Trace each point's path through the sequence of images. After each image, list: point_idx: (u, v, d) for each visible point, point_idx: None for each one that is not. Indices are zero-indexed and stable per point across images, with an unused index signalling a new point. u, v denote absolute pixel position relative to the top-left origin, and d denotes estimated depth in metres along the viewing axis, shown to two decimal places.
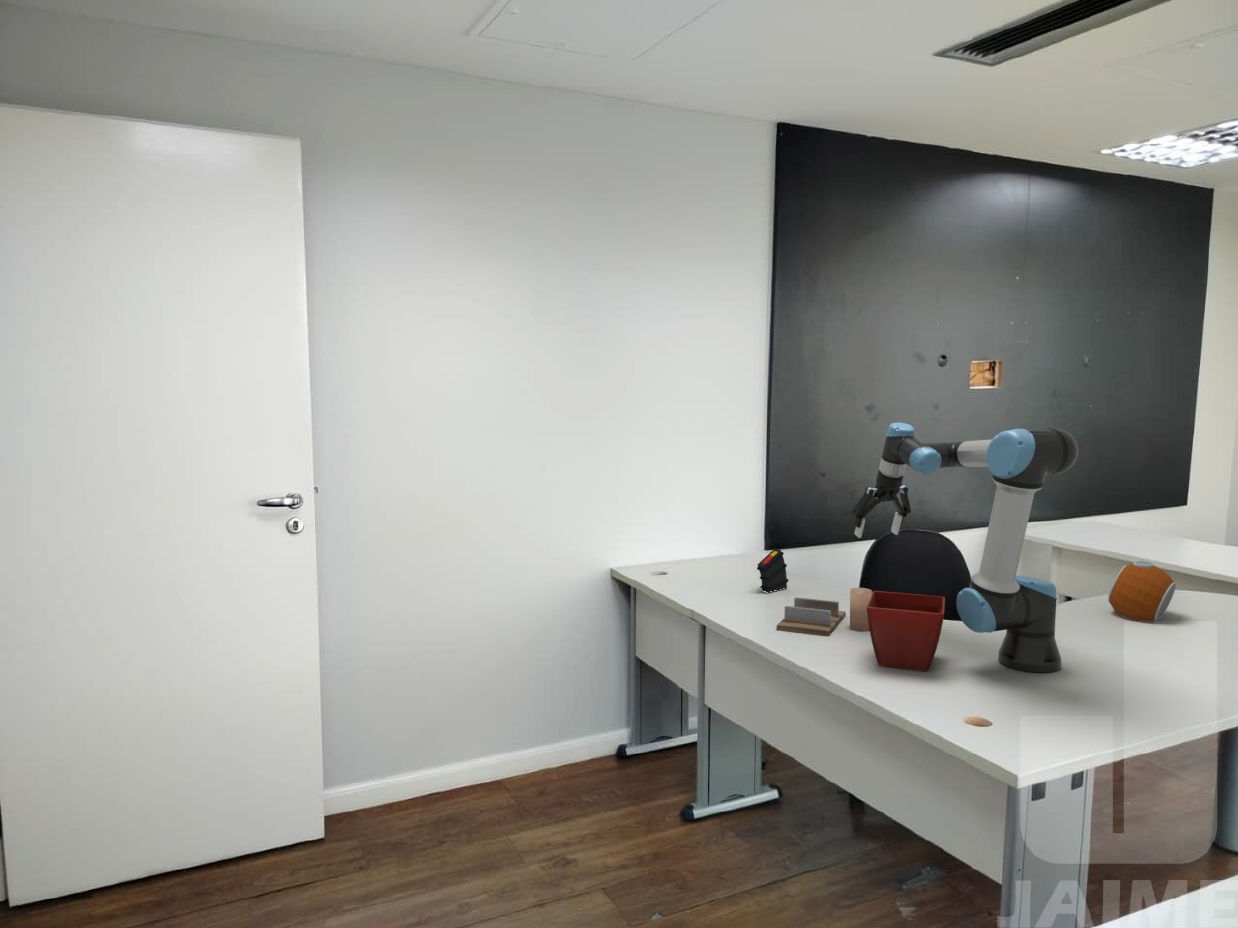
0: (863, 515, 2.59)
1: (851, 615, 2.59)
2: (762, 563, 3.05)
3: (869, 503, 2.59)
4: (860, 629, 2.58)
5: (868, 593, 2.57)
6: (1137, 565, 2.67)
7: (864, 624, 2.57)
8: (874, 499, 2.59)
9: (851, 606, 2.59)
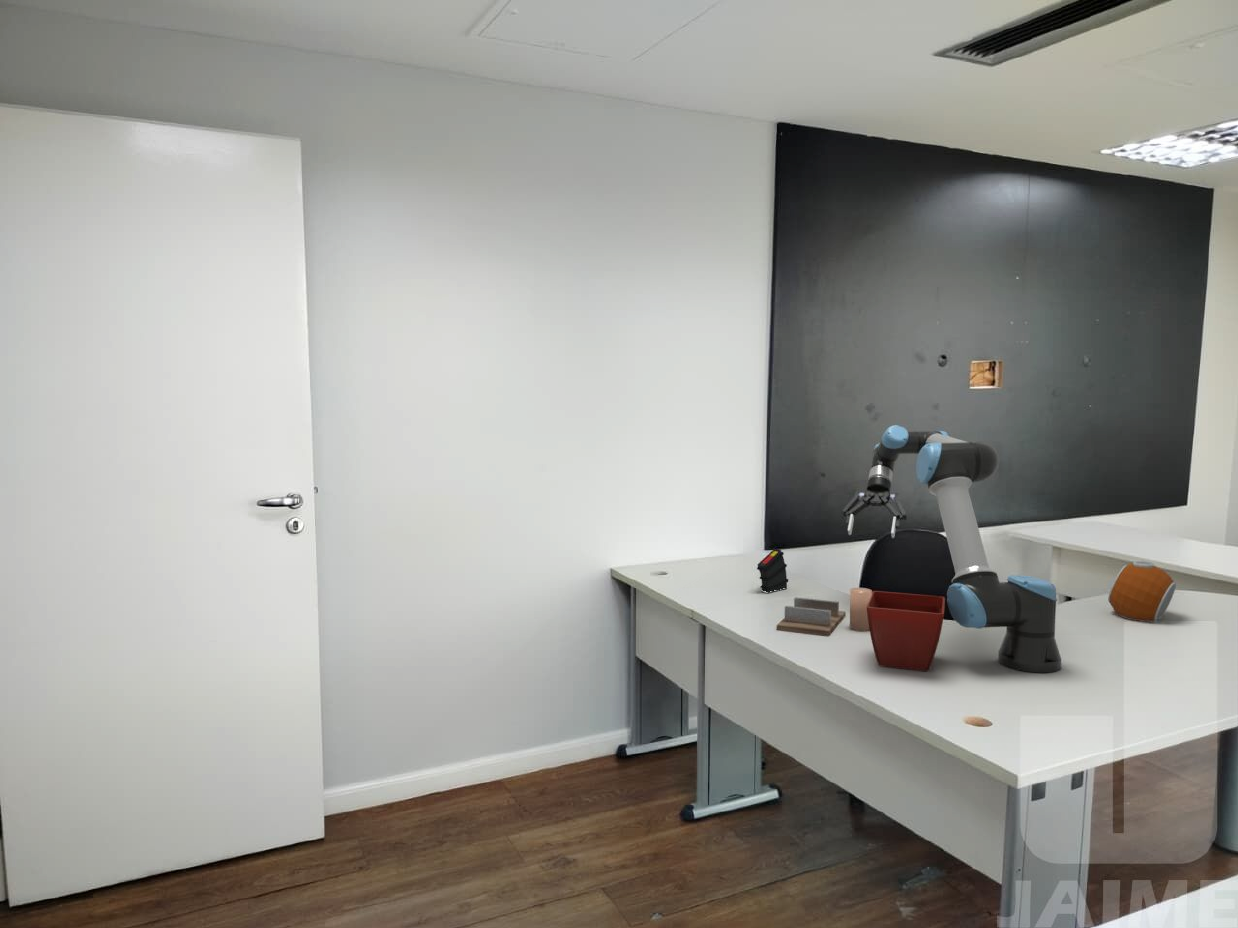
0: (850, 511, 2.80)
1: (851, 615, 2.59)
2: (762, 563, 3.05)
3: None
4: (860, 629, 2.58)
5: (868, 593, 2.57)
6: (1137, 565, 2.67)
7: (864, 624, 2.57)
8: None
9: (851, 606, 2.59)
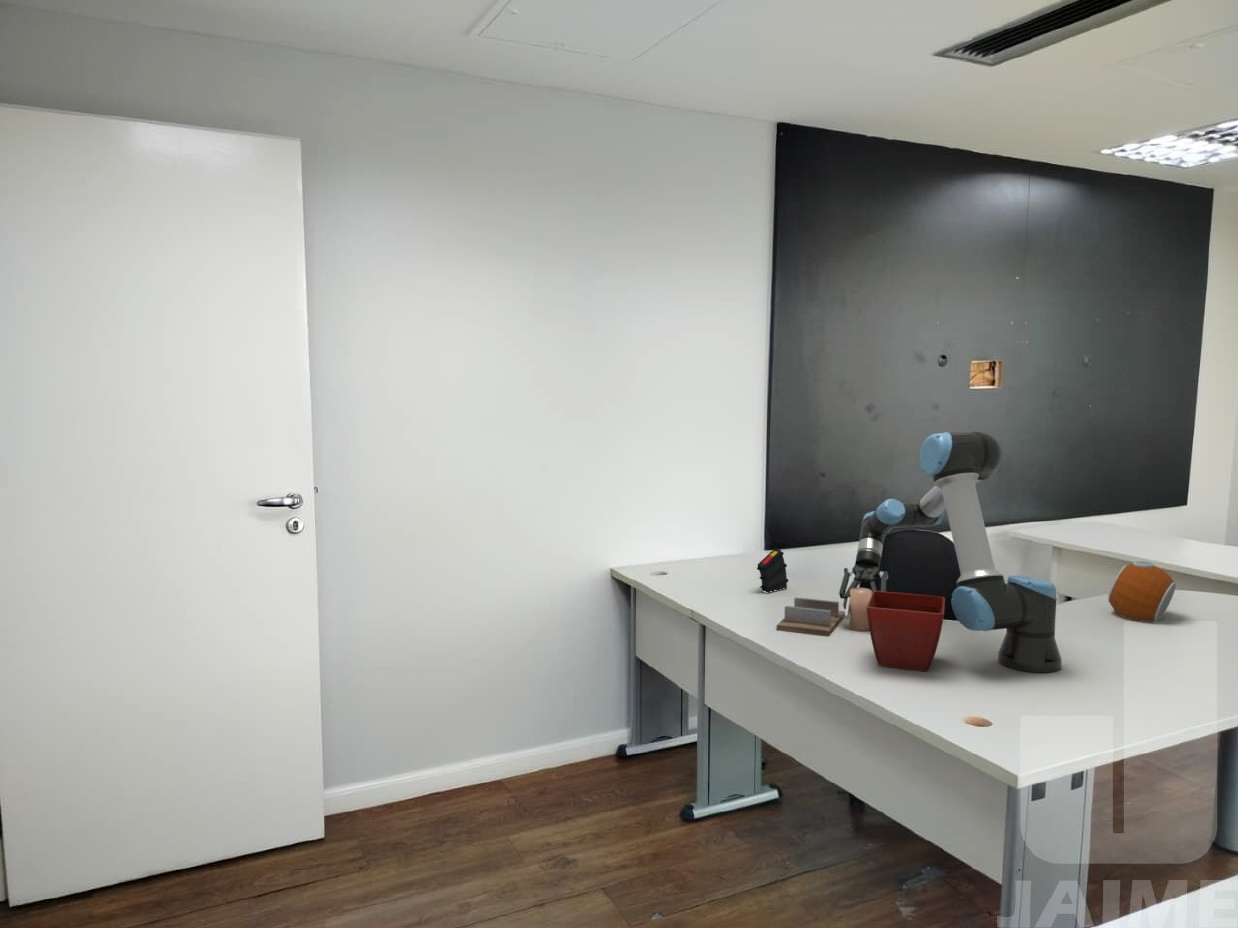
0: (847, 593, 2.63)
1: (851, 615, 2.59)
2: (762, 563, 3.05)
3: None
4: (860, 629, 2.58)
5: (868, 593, 2.57)
6: (1137, 565, 2.67)
7: (864, 624, 2.57)
8: None
9: (851, 606, 2.59)
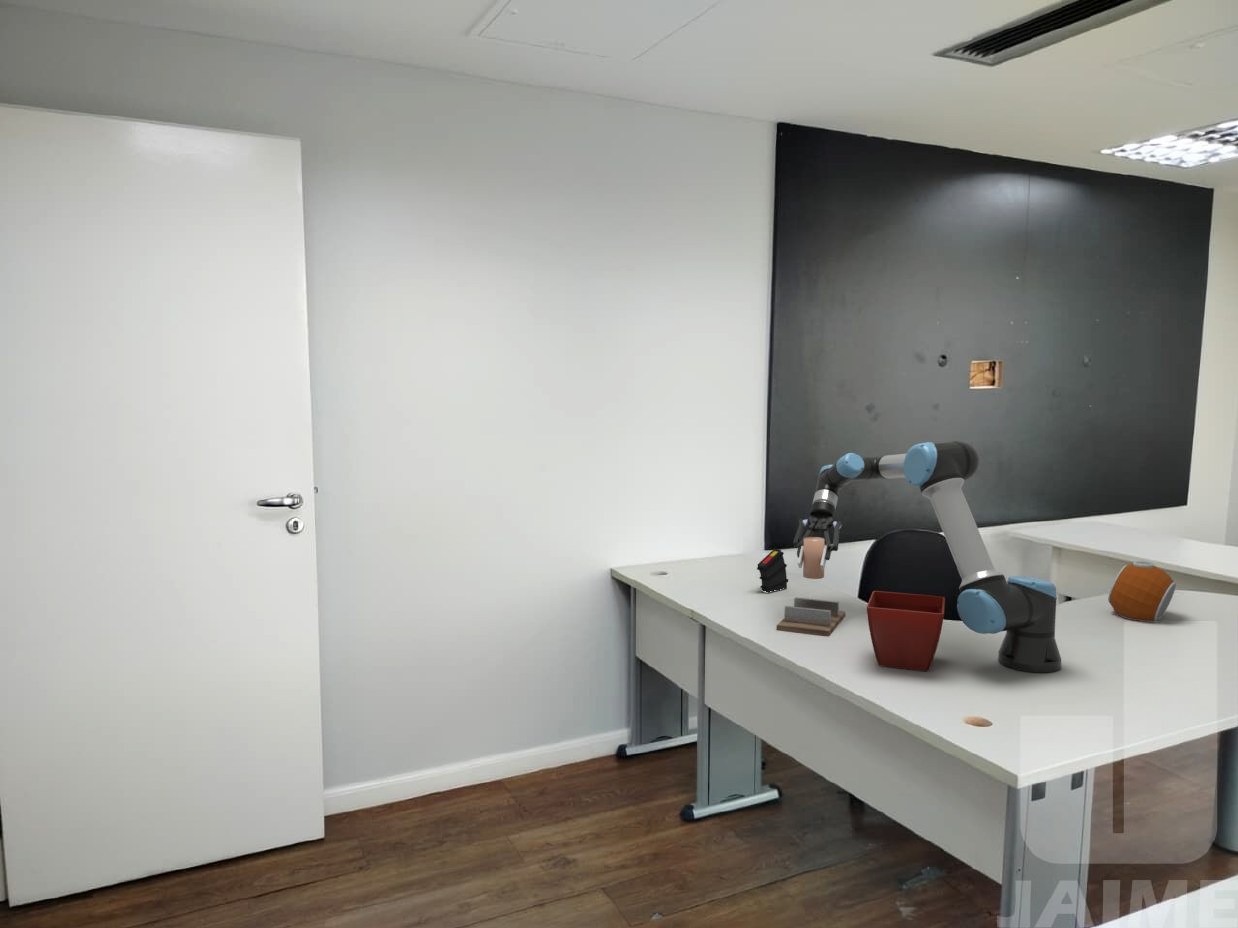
0: (801, 542, 2.68)
1: (804, 563, 2.65)
2: (762, 563, 3.05)
3: None
4: (813, 576, 2.63)
5: (820, 541, 2.62)
6: (1137, 565, 2.67)
7: (817, 572, 2.63)
8: None
9: (804, 554, 2.65)
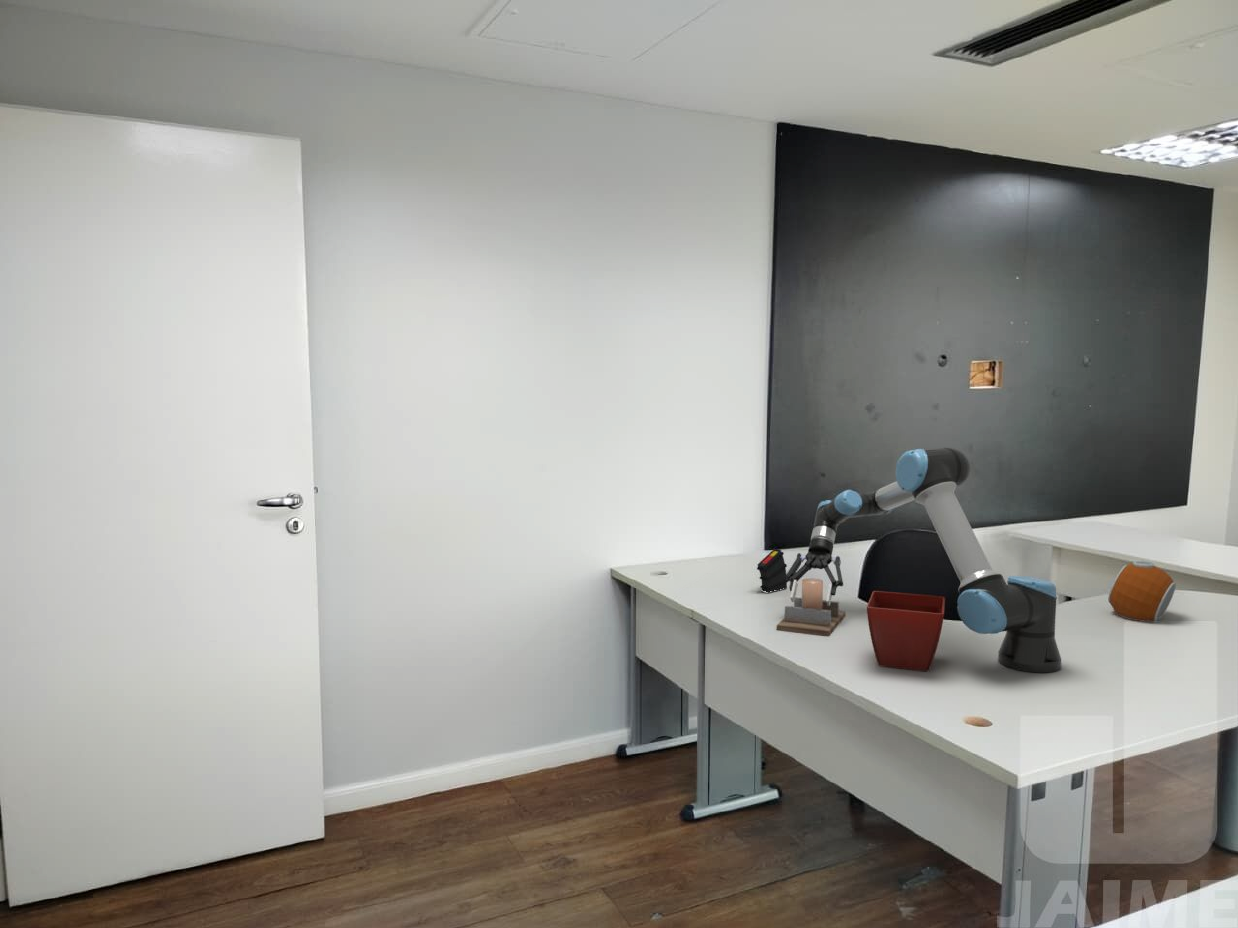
0: (794, 576, 2.70)
1: (803, 605, 2.66)
2: (762, 563, 3.05)
3: None
4: None
5: (819, 583, 2.63)
6: (1137, 565, 2.67)
7: None
8: None
9: (803, 596, 2.66)
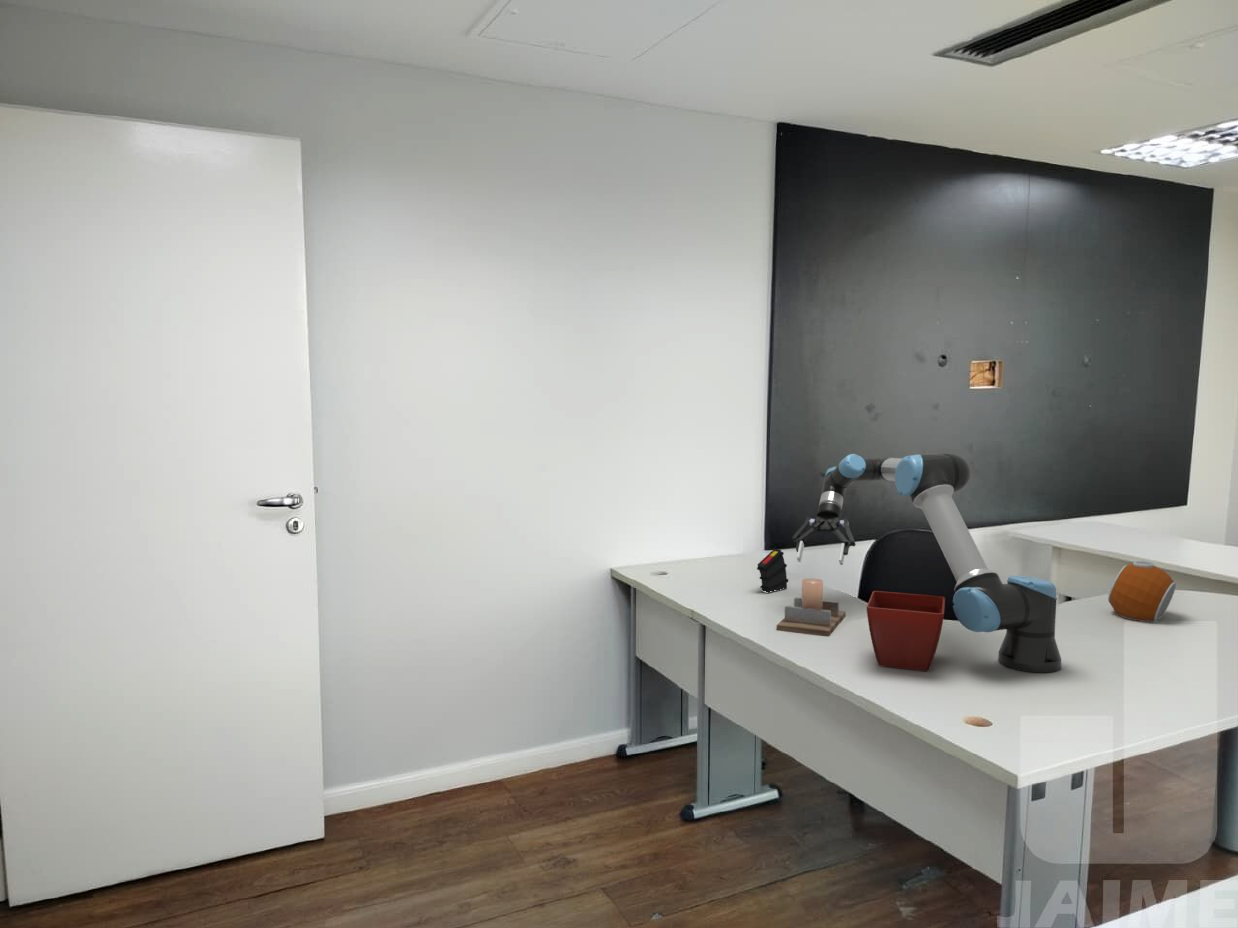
0: (800, 537, 2.79)
1: (803, 605, 2.66)
2: (762, 563, 3.05)
3: None
4: None
5: (819, 583, 2.63)
6: (1137, 565, 2.67)
7: None
8: None
9: (803, 596, 2.66)
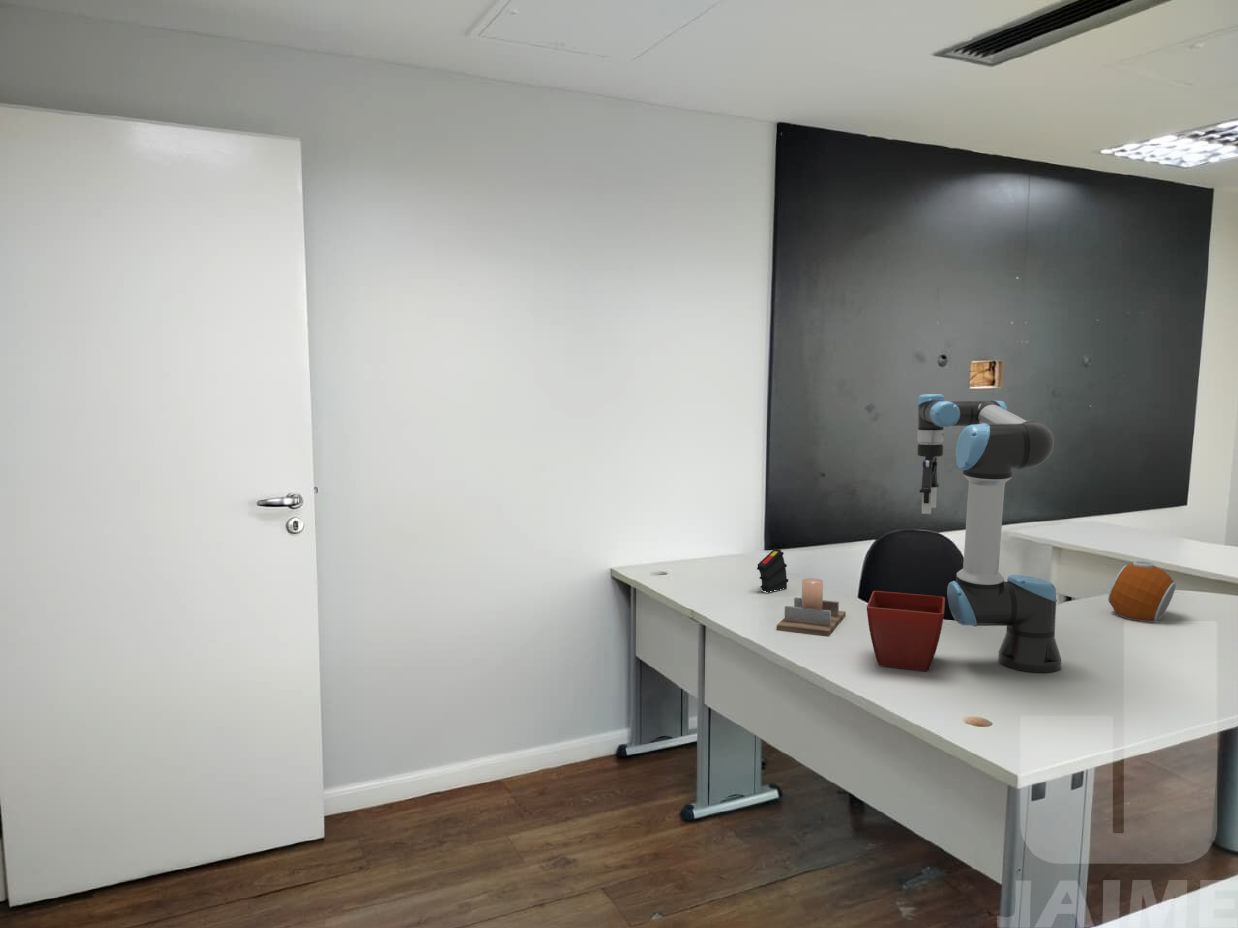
0: None
1: (803, 605, 2.66)
2: (762, 563, 3.05)
3: None
4: None
5: (819, 583, 2.63)
6: (1137, 565, 2.67)
7: None
8: None
9: (803, 596, 2.66)
